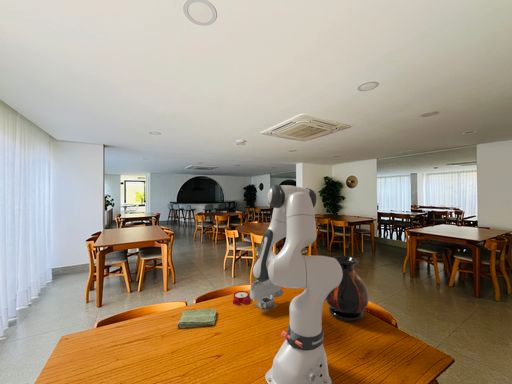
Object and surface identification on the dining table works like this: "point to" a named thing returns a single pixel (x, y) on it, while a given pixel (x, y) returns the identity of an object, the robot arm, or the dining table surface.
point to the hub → (277, 294)
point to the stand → (266, 309)
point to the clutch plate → (267, 302)
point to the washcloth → (197, 318)
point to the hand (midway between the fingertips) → (265, 303)
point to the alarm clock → (241, 298)
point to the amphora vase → (348, 293)
